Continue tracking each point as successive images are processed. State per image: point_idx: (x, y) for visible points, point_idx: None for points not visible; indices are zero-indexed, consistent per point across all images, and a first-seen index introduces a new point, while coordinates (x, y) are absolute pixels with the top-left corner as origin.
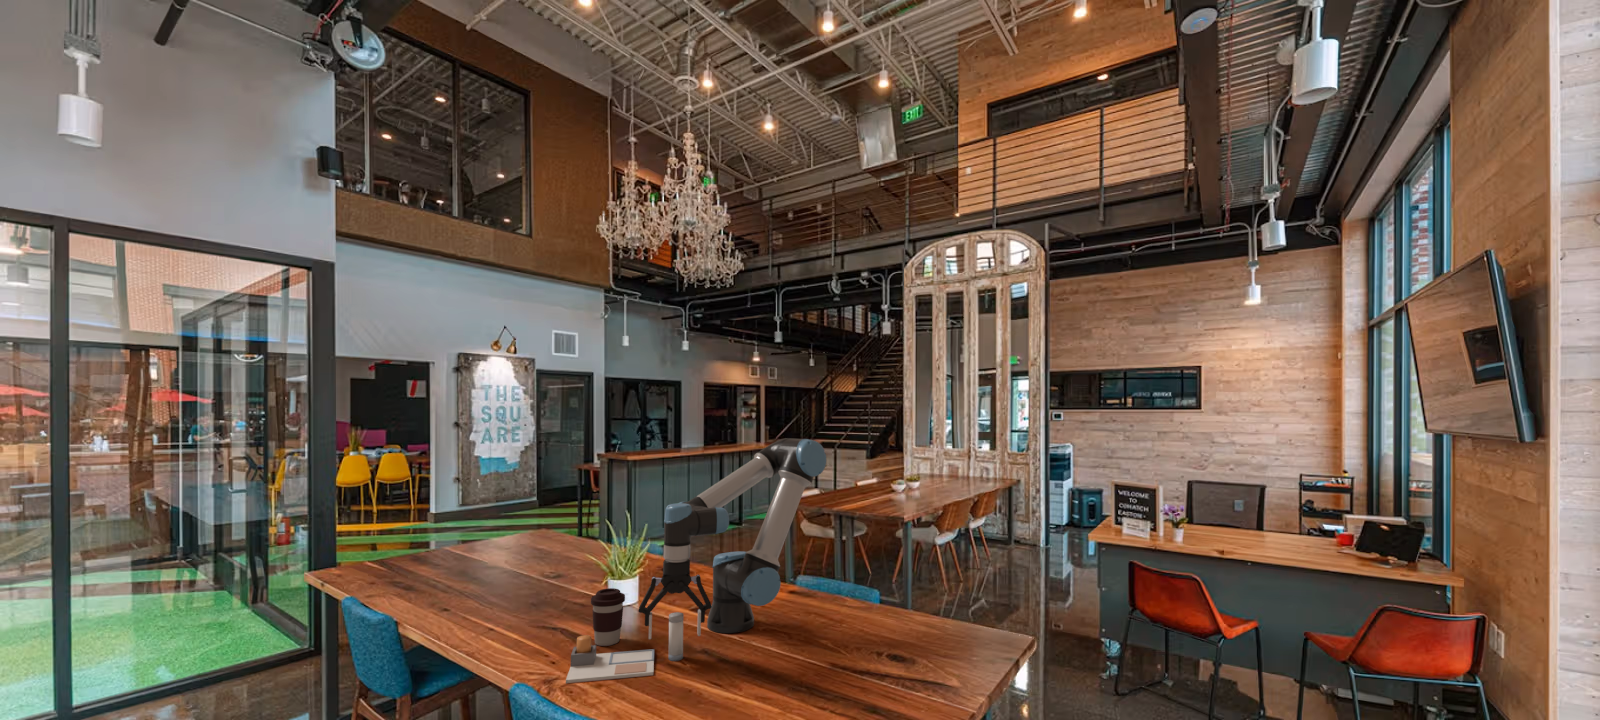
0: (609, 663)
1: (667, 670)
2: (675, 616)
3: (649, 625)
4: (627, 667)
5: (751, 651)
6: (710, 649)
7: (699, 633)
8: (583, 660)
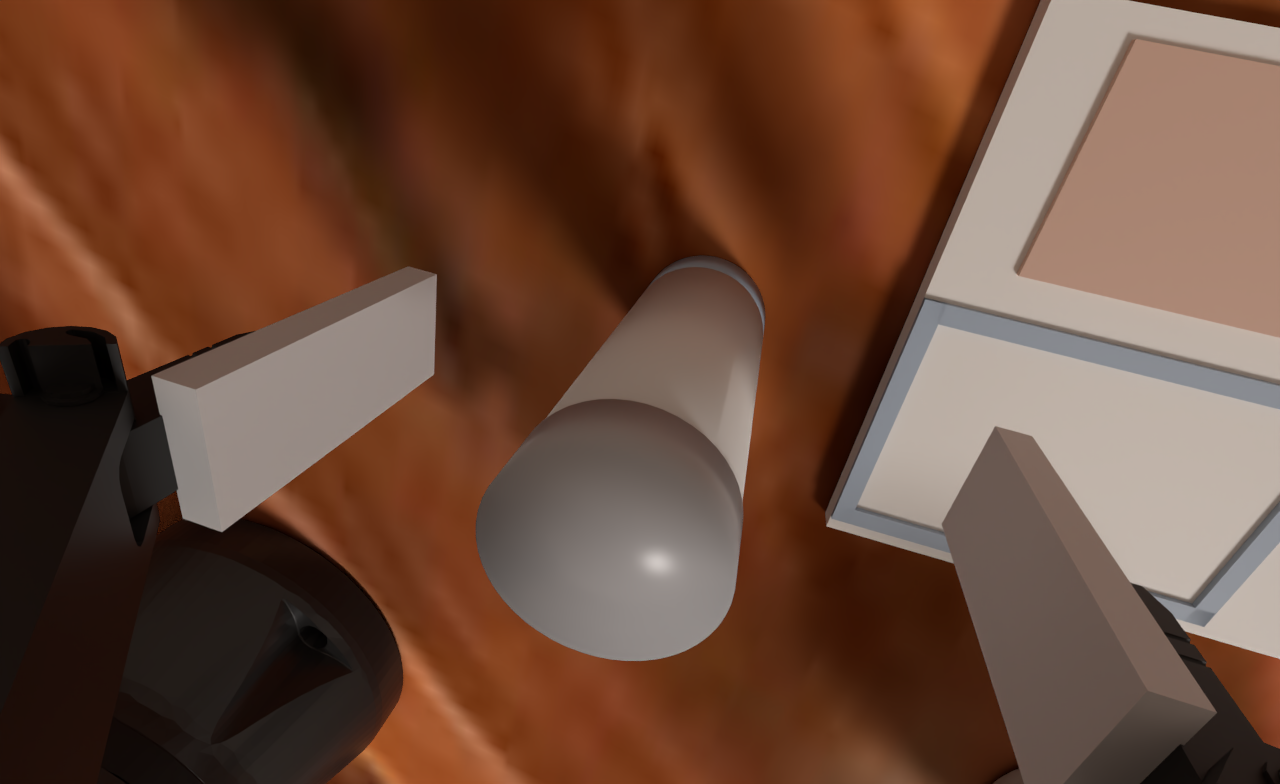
0: None
1: (856, 67)
2: (632, 489)
3: (1099, 548)
4: (1269, 235)
5: (133, 173)
6: None
7: (402, 275)
8: None
